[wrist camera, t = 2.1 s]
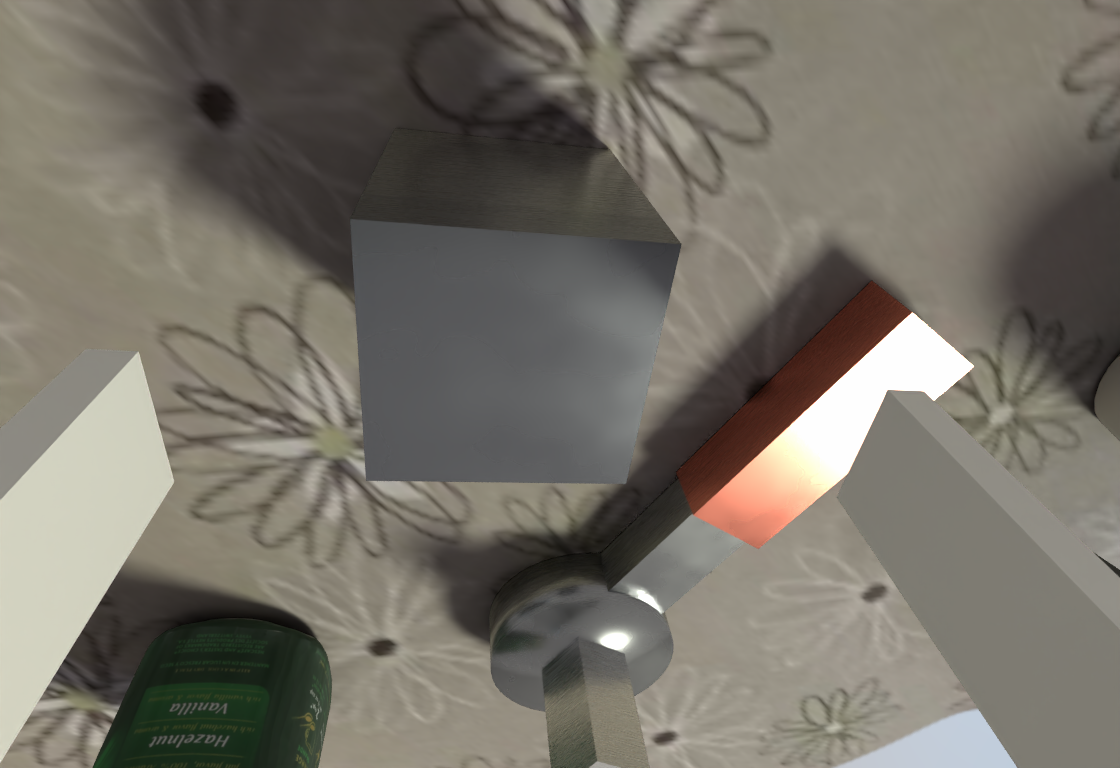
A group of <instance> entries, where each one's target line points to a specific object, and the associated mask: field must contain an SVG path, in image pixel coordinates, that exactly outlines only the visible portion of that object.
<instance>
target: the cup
mask: <svg viewBox="0 0 1120 768" xmlns="http://www.w3.org/2000/svg"><path fill="white" fill-rule="evenodd" d="M1094 401H1095V413H1096V415H1097V417H1098V419H1099V421H1100V422H1101V423H1102V424H1103V425H1104V426H1105V427H1106V428H1107V429H1108V430H1109V431H1110V432H1111V433H1112V434H1113V435H1114V436H1115V437H1116V438H1117V439H1118V440H1119V441H1120V354H1119V356H1118V357H1117V358H1116V359H1115V360H1114V361H1113V362H1112V364H1111V365H1110V366H1109V367H1108V369H1107V371H1106V372H1105V374H1104V376H1103V378H1102V379H1101V381H1100V383H1099V386H1098V390H1097V393H1096V396H1095V399H1094Z"/></svg>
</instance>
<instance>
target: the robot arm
mask: <svg viewBox="0 0 1120 768" xmlns="http://www.w3.org/2000/svg"><path fill="white" fill-rule="evenodd" d="M173 483H174V479H173V475H172V472H171V468H170V464H169V461H168V457H167V453H166V450H165V446H164V443H163V439H162V435H161V432H160V428H159V424H158V421H157V417H156V413H155V410H154V406H153V402H152V399H151V395H150V392H149V388H148V384H147V381H146V377H145V373H144V370H143V366H142V362H141V359H140V355H139V351H119V350H99V349H85V350H84V351H83V352H82V353H81V354H80V355H79V356H78V357H77V358H76V359H75V360H74V361H72V362H71V363H70V364H69V365H68V366H67V367H66V368H65V369H64V370H63V371H62V372H61V373H60V374H58V375H57V376H56V377H55V378H54V379H53V380H52V381H51V382H50V383H49V384H48V385H47V386H46V387H44V388H43V389H42V390H41V391H40V392H39V393H38V394H37V395H36V396H35V397H34V398H33V399H32V400H30V401H29V402H28V403H27V404H26V405H25V406H24V407H23V408H22V409H21V410H20V411H19V412H18V413H16V414H15V415H14V416H13V417H12V418H11V419H10V420H9V421H8V422H7V423H6V424H5V425H4V426H2V427H1V428H0V762H1V761H2V759H3V757H4V756H5V754H6V753H7V751H8V749H9V748H10V746H11V745H12V743H13V741H14V740H15V738H16V736H17V735H18V733H19V732H20V730H21V728H22V727H23V725H24V724H25V722H26V720H27V719H28V717H29V716H30V714H31V712H32V711H33V709H34V707H35V706H36V704H37V703H38V701H39V699H40V698H41V696H42V695H43V693H44V691H45V690H46V688H47V686H48V685H49V683H50V682H51V680H52V678H53V677H54V675H55V674H56V672H57V670H58V669H59V667H60V665H61V664H62V662H63V661H64V659H65V657H66V656H67V654H68V653H69V651H70V649H71V648H72V646H73V644H74V643H75V641H76V640H77V638H78V636H79V635H80V633H81V632H82V630H83V628H84V627H85V625H86V624H87V622H88V620H89V619H90V617H91V615H92V614H93V612H94V611H95V609H96V607H97V606H98V604H99V603H100V601H101V599H102V598H103V596H104V594H105V593H106V591H107V590H108V588H109V586H110V585H111V583H112V582H113V580H114V578H115V577H116V575H117V573H118V572H119V570H120V569H121V567H122V565H123V564H124V562H125V561H126V559H127V557H128V556H129V554H130V552H131V551H132V549H133V548H134V546H135V544H136V543H137V541H138V540H139V538H140V536H141V535H142V533H143V532H144V530H145V528H146V527H147V525H148V523H149V522H150V520H151V519H152V517H153V515H154V514H155V512H156V511H157V509H158V507H159V506H160V504H161V502H162V501H163V499H164V498H165V496H166V494H167V493H168V491H169V490H170V488H171V486H172V485H173ZM837 498H838V500H839V501H840V503H841V504H842V506H843V507H844V509H845V510H846V512H847V513H848V515H849V516H850V518H851V519H852V521H853V522H854V524H855V525H856V527H857V528H858V530H859V531H860V533H861V534H862V536H863V537H864V539H865V540H866V542H867V543H868V545H869V546H870V548H871V549H872V551H873V552H874V554H875V555H876V557H877V558H878V560H879V561H880V563H881V564H882V566H883V567H884V569H885V570H886V572H887V573H888V575H889V576H890V578H891V579H892V581H893V582H894V584H895V585H896V587H897V588H898V590H899V591H900V593H901V594H902V596H903V597H904V599H905V600H906V602H907V603H908V605H909V606H910V608H911V609H912V611H913V612H914V614H915V615H916V617H917V618H918V620H919V621H920V623H921V624H922V626H923V627H924V629H925V630H926V632H927V633H928V635H929V636H930V637H931V639H932V640H933V642H934V643H935V645H936V646H937V648H938V649H939V651H940V652H941V654H942V655H943V657H944V658H945V660H946V661H947V663H948V664H949V666H950V667H951V669H952V670H953V672H954V673H955V675H956V676H957V678H958V679H959V681H960V682H961V684H962V685H963V687H964V688H965V690H966V691H967V693H968V694H969V696H970V697H971V699H972V700H973V702H974V703H975V705H976V706H977V708H978V709H979V711H980V712H981V714H982V715H983V717H984V718H985V720H986V721H987V723H988V724H989V726H990V727H991V729H992V730H993V732H994V733H995V735H996V736H997V738H998V739H999V741H1000V742H1001V744H1002V745H1003V747H1004V748H1005V750H1006V751H1007V753H1008V754H1009V755H1010V757H1011V759H1012V760H1013V761H1014V763H1015V764H1016V766H1017V768H1120V570H1119V569H1118V568H1116V567H1115V566H1113V565H1112V564H1110V563H1109V562H1107V561H1106V560H1104V559H1103V558H1101V557H1100V556H1098V555H1097V554H1095V553H1094V552H1092V551H1091V550H1090V549H1089V548H1088V547H1087V546H1086V545H1085V544H1084V543H1083V542H1082V541H1081V540H1080V539H1079V538H1078V537H1077V536H1076V535H1074V534H1073V533H1072V532H1071V531H1070V530H1069V529H1068V528H1067V527H1066V526H1065V525H1064V524H1063V523H1062V522H1061V521H1060V520H1059V519H1058V518H1057V517H1056V516H1055V515H1054V514H1052V513H1051V512H1050V511H1049V510H1048V509H1047V508H1046V507H1045V506H1044V505H1043V504H1042V503H1041V502H1040V501H1039V500H1038V499H1037V498H1036V497H1035V496H1034V495H1033V494H1031V493H1030V492H1029V491H1028V490H1027V489H1026V488H1025V487H1024V486H1023V485H1022V484H1021V483H1020V482H1019V481H1018V480H1017V479H1016V478H1015V477H1014V476H1013V475H1012V474H1010V473H1009V472H1008V471H1007V470H1006V469H1005V468H1004V467H1003V466H1002V465H1001V464H1000V463H999V462H998V461H997V460H996V459H995V458H994V457H993V456H992V455H991V454H989V453H988V452H987V451H986V450H985V449H984V448H983V447H982V446H981V445H980V444H979V443H978V442H977V441H976V440H975V439H974V438H973V437H972V436H971V435H970V434H968V433H967V432H966V431H965V430H964V429H963V428H962V427H961V426H960V425H959V424H958V423H957V422H956V421H955V420H954V419H953V418H952V417H951V416H950V415H949V414H948V413H946V412H945V411H944V410H943V409H942V408H941V407H940V406H939V405H938V404H937V403H936V402H935V401H934V400H933V399H932V398H931V397H930V396H929V395H928V394H927V393H925V392H924V391H912V390H892V389H887V391H886V394H885V396H884V398H883V400H882V402H881V404H880V406H879V408H878V411H877V413H876V415H875V417H874V419H873V421H872V423H871V425H870V428H869V430H868V432H867V434H866V436H865V438H864V440H863V442H862V444H861V447H860V449H859V451H858V453H857V455H856V457H855V459H854V461H853V464H852V466H851V468H850V470H849V472H848V474H847V476H846V478H845V481H844V483H843V485H842V487H841V489H840V491H839V493H838V495H837Z"/></svg>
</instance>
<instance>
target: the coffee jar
mask: <svg viewBox="0 0 1120 768" xmlns="http://www.w3.org/2000/svg"><path fill="white" fill-rule="evenodd" d="M331 691H332V679H331V672H330V666H329V661H328V657H327V654H326V652H325V650H324V648H323V646H322V645H321V644H320V642H319V641H318V640H317V639H316V638H314V637H312V636H309V635H307V634H304V633H302V632H300V631H297V630H295V629H291V628H287V627H284V626H280V625H277V624H273V623H271V622H267V621H262V620H255V619H245V618H228V619H213V620H208V621H204V622H197V623H191V624H185V625H182V626H178V627H176V628H173V629H171V630H168V631H165V632H164V633H163V634H161V635H160V636H159V637H157V638H156V639H155V640H154V641H153V642H152V643H151V645H150V646H149V648H148V649H147V651H146V653H145V655H144V657H143V659H142V661H141V663H140V665H139V667H138V669H137V672H136V674H135V676H134V678H133V680H132V682H131V684H130V686H129V688H128V691H127V693H126V695H125V697H124V699H123V701H122V704H121V706H120V708H119V710H118V712H117V714H116V716H115V719H114V721H113V723H112V725H111V727H110V730H109V732H108V734H107V736H106V738H105V741H104V743H103V745H102V747H101V749H100V752H99V754H98V756H97V759H96V761H95V763H94V765H93V768H318V766H319V761H320V756H321V751H322V746H323V741H324V736H325V731H326V725H327V720H328V715H329V710H330V703H331Z"/></svg>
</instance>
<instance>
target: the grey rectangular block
mask: <svg viewBox="0 0 1120 768" xmlns="http://www.w3.org/2000/svg"><path fill="white" fill-rule="evenodd" d="M350 227H351V243H352V259H353V275H354V291H355V308H356V324H357V340H358V356H359V372H360V388H361V405H362V421H363V437H364V453H365V469H366V481H440V482H519V483H598V484H626V482H627V477H628V473H629V469H630V464H631V460H632V456H633V451H634V447H635V443H636V438H637V434H638V430H639V425H640V421H641V417H642V412H643V408H644V404H645V399H646V395H647V391H648V386H649V382H650V378H651V373H652V369H653V365H654V361H655V356H656V352H657V348H658V343H659V339H660V335H661V330H662V326H663V322H664V317H665V313H666V309H667V304H668V300H669V296H670V291H671V287H672V283H673V278H674V274H675V270H676V265H677V261H678V257H679V252H680V248H681V243H680V242H679V240H678V239H677V238H676V236H675V235H674V234H673V232H672V231H671V230H670V228H669V227H668V226H667V224H666V223H665V222H664V220H663V219H662V218H661V216H660V215H659V214H658V212H657V211H656V210H655V208H654V207H653V206H652V204H651V203H650V202H649V200H648V199H647V198H646V196H645V195H644V194H643V192H642V191H641V190H640V189H639V187H638V186H637V185H636V183H635V182H634V181H633V179H632V178H631V177H630V175H629V174H628V173H627V171H626V170H625V169H624V167H623V166H622V165H621V163H620V162H619V161H618V159H617V158H616V157H615V155H614V154H613V153H612V151H611V150H610V149H600V148H590V147H580V146H570V145H560V144H550V143H539V142H529V141H519V140H509V139H499V138H489V137H479V136H469V135H459V134H449V133H439V132H429V131H419V130H408V129H398V128H395V130H394V132H393V134H392V136H391V138H390V140H389V142H388V144H387V146H386V148H385V150H384V152H383V154H382V156H381V158H380V160H379V162H378V164H377V166H376V168H375V170H374V172H373V174H372V176H371V178H370V180H369V182H368V184H367V186H366V188H365V190H364V192H363V194H362V196H361V198H360V200H359V202H358V204H357V206H356V208H355V210H354V212H353V214H352V216H351V218H350Z"/></svg>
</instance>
